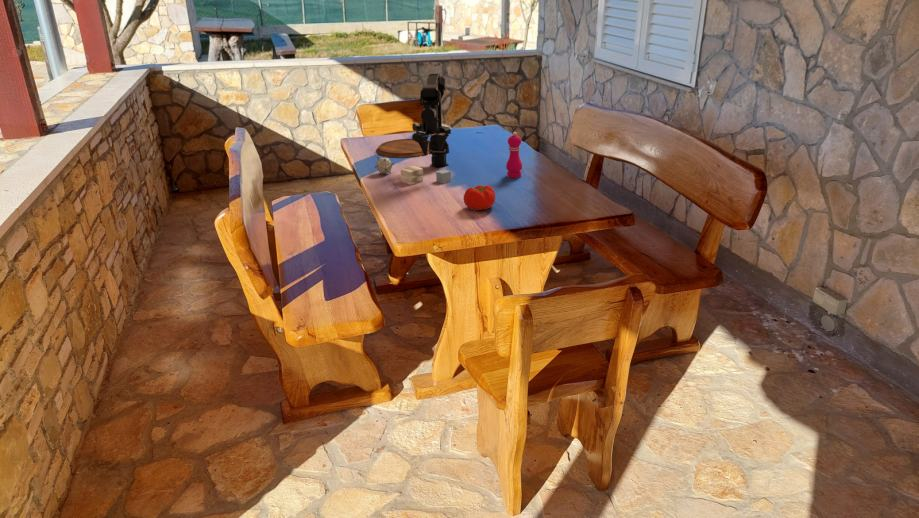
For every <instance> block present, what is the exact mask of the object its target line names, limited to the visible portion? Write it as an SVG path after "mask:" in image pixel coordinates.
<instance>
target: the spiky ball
mask: <svg viewBox="0 0 919 518" xmlns="http://www.w3.org/2000/svg"><path fill="white" fill-rule="evenodd" d="M376 158H377V161H376V166H374V168H376V169H377V171H378V172H379V176H382V175H383V174H392V172H391V171H392V168H393V165H395V163H393V162H392V161H391V159H390V157H389V156H388V157H379V156H377V157H376Z"/></svg>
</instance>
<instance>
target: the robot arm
mask: <svg viewBox="0 0 919 518" xmlns="http://www.w3.org/2000/svg"><path fill="white" fill-rule="evenodd" d="M446 91H447V81H446V78H445V77H443V76H442V75H441V74H440V73H429V74H428V78H426V85H423V86H422V88H421V90H420V93H419V94H420V96H419V97H420V98H419V106H423V110H422V111H421V114H420V119H421V120H422V121H421V123H418V122H414V123H412V125H411V126H412V131H414V133H412V135H411V137H412V138H411V139H412V140H414V141H415V142H418V143H419V145H420V147H421V149H422V151H423V154H424V156H423V157H425V156H426V157H427V156H428V155H427V150H428V142H429V152H430V154H429V155H431V159H430V160H431V164H430V165H429V166H431V167H434V168H437V169H440V168H444V167H447V166H449V163H447V154H450V146H449V143H448V140H447V139H448V137H449V136H450V135H451V134H452V130H451V128H450V126H445V125H443V106H442V105H443V103H442V100H443V98H444V97H445V94H446ZM427 140H429V141H427Z"/></svg>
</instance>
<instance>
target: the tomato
mask: <svg viewBox="0 0 919 518" xmlns="http://www.w3.org/2000/svg"><path fill="white" fill-rule="evenodd" d="M495 201H496V192H495V190H494V188H493V187H492V186H490V185H487V184H486V185H476V186H474V187H468V188H467V189H466V190H465V192H464V193H463V203H464V205H465V206H466V207H467V208H469V209H470V210H474V211H480V210H483V211H485V210H488V209H490V208H491V207H493V205H494V204H495Z"/></svg>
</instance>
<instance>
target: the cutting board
mask: <svg viewBox="0 0 919 518" xmlns="http://www.w3.org/2000/svg"><path fill="white" fill-rule="evenodd" d="M427 141H430V139H428V140H427ZM376 154H378V155H379V156H381V157H384V158H386V157H388V156H389V157H388V158H392V159H394V158H395V159H412V158H413V159H414V158H421V157H425V156H424V154H423V151H422V149H421V147H420V145H419V143H418V142H415V141H414V140H412V138H399V139H392V140H388V141H385V142H382V143H380V144H379V145H378V147H377V148H376ZM428 154H429V155H431V154H430V152H429V142H428V150H427V155H426V156H429V155H428ZM420 156H421V157H420Z"/></svg>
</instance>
